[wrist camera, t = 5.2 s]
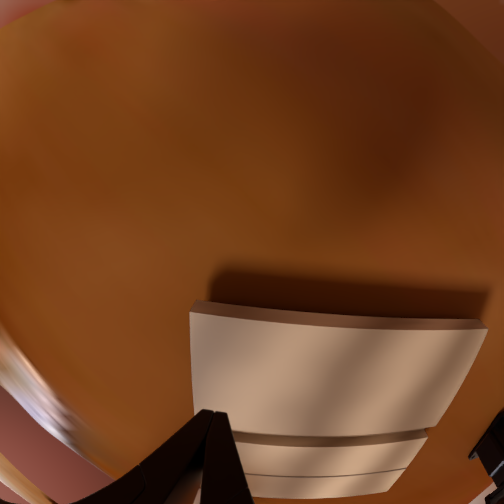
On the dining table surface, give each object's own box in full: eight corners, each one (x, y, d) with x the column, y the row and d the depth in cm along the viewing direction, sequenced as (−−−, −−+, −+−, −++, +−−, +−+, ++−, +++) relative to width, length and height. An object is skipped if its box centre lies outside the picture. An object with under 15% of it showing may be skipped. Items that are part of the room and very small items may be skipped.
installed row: (426, 417, 15) (432, 430, 14) (383, 480, 17) (387, 491, 16) (200, 412, 16) (195, 428, 15) (203, 476, 18) (200, 489, 17)
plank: (478, 318, 13) (488, 328, 12) (430, 414, 15) (435, 426, 14) (196, 299, 14) (189, 311, 12) (199, 410, 16) (195, 423, 15)
